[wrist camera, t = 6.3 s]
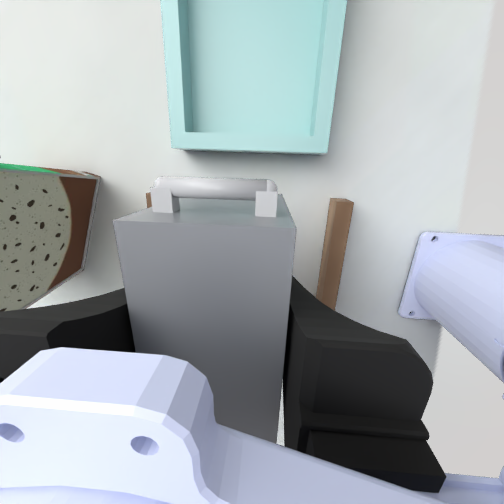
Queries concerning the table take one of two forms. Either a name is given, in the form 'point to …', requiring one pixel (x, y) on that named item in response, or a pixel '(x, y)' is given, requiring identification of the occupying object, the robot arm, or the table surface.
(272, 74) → the tray
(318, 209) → the table surface
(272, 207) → the gray box with handle
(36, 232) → the food container
